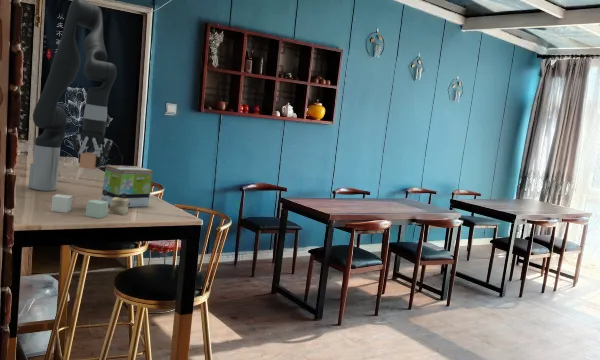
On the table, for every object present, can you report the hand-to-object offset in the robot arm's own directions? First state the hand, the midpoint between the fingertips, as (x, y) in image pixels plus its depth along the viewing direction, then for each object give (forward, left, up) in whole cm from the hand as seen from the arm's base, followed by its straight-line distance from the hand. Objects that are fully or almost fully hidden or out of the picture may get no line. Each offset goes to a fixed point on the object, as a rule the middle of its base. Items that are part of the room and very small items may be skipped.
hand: (89, 165), depth 183 cm
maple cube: (+12, 0, -15) cm, 19 cm away
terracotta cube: (0, 0, -1) cm, 1 cm away
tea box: (+9, +15, -15) cm, 23 cm away
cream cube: (-4, -10, -15) cm, 19 cm away
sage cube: (+8, -10, -15) cm, 20 cm away
